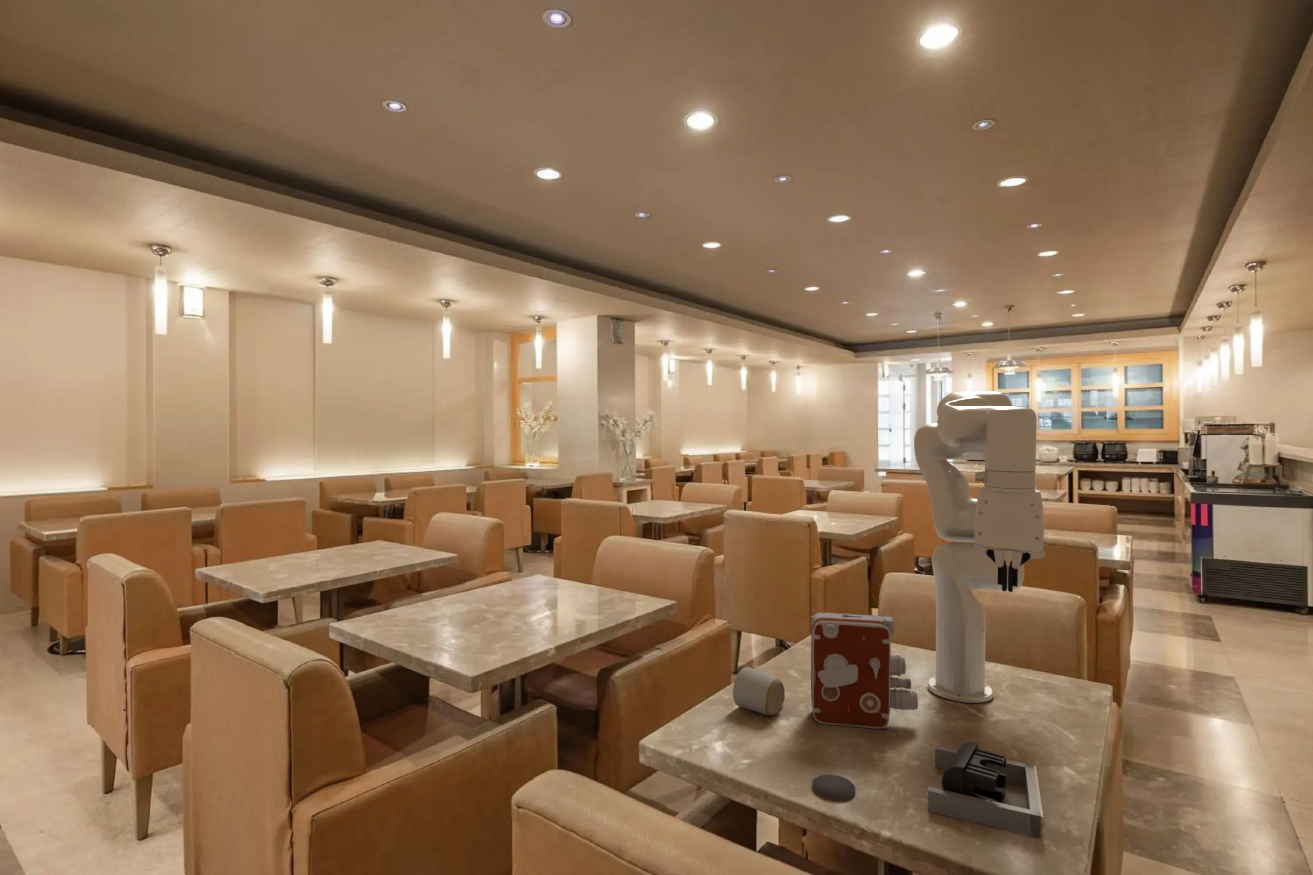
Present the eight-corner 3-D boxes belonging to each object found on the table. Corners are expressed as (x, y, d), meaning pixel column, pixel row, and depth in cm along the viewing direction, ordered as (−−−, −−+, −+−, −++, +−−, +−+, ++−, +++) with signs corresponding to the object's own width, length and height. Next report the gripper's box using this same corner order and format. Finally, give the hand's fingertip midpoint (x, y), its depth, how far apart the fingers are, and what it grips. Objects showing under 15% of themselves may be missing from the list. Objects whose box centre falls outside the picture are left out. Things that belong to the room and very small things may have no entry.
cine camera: (921, 736, 120) (922, 626, 120) (811, 726, 124) (812, 620, 124) (912, 715, 129) (913, 613, 129) (810, 706, 133) (810, 607, 133)
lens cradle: (935, 763, 110) (935, 745, 110) (1035, 784, 104) (1035, 765, 104) (928, 811, 97) (928, 790, 97) (1043, 838, 90) (1043, 816, 90)
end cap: (956, 778, 106) (957, 736, 106) (1006, 793, 102) (1006, 749, 102) (940, 807, 98) (941, 761, 98) (993, 824, 94) (994, 776, 94)
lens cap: (817, 777, 107) (817, 770, 107) (858, 786, 104) (858, 780, 104) (807, 796, 101) (808, 790, 101) (851, 807, 98) (851, 800, 98)
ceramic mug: (768, 722, 126) (769, 682, 126) (731, 710, 131) (732, 671, 131) (794, 705, 134) (795, 667, 134) (758, 695, 139) (759, 658, 139)
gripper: (958, 481, 111) (956, 589, 112) (1063, 485, 104) (1060, 601, 105) (962, 477, 118) (960, 579, 119) (1060, 481, 111) (1058, 590, 111)
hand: (1007, 589), depth 112 cm, fingers closed
